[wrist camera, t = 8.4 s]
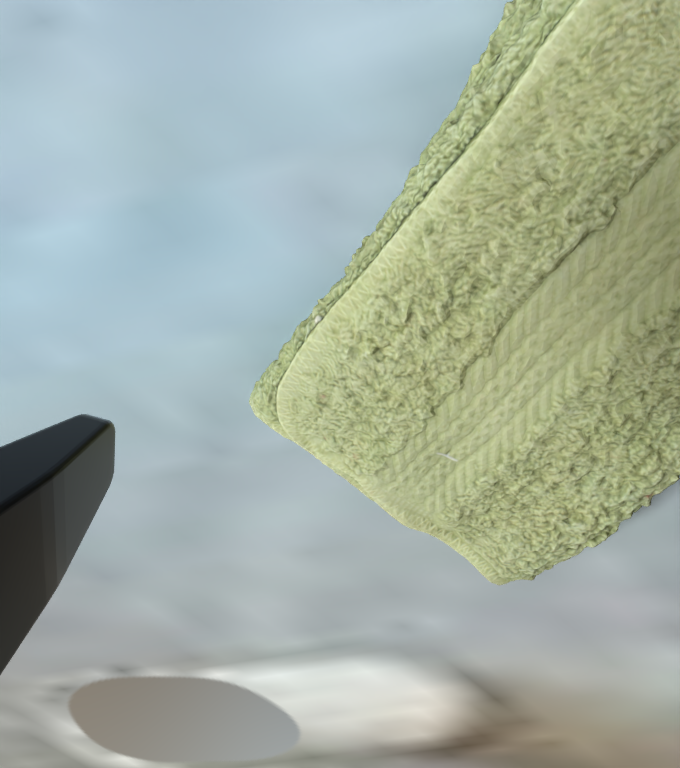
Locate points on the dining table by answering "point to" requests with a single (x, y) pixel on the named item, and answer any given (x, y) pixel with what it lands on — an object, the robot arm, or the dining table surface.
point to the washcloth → (515, 302)
